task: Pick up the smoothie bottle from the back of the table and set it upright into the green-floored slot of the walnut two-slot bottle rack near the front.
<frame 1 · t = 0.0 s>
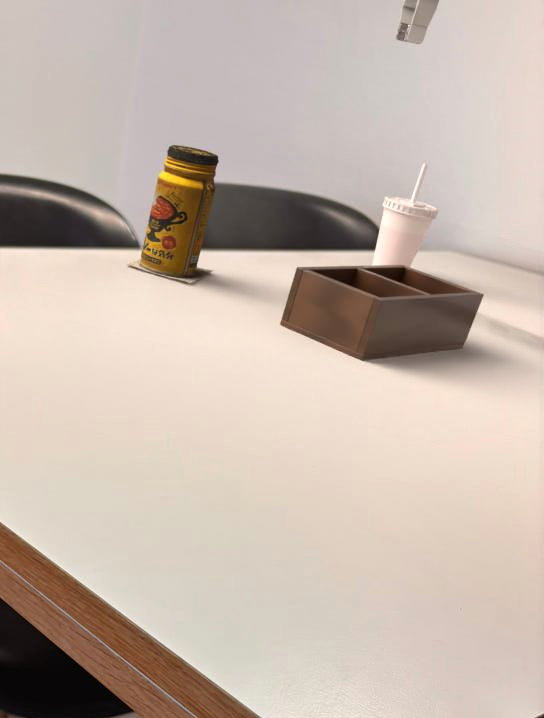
hand: (407, 42, 125), 25 cm above the table, tool pointing down, fingers open, 8 cm apart
condiment: (169, 271, 115), on the table
rack: (374, 336, 106), on the table
smoothie: (382, 288, 129), on the table
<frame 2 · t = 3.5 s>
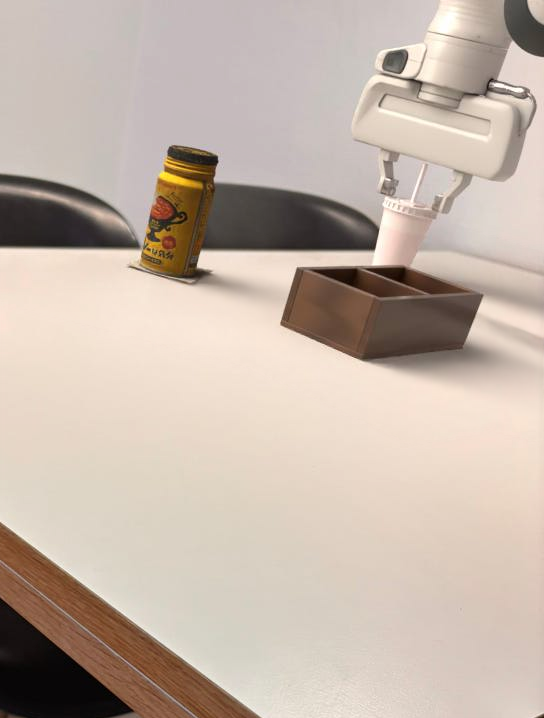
hand: (411, 203, 124), 10 cm above the table, tool pointing down, fingers closed on smoothie, 6 cm apart
smoothie: (382, 288, 129), on the table, touching gripper
everything else where it was.
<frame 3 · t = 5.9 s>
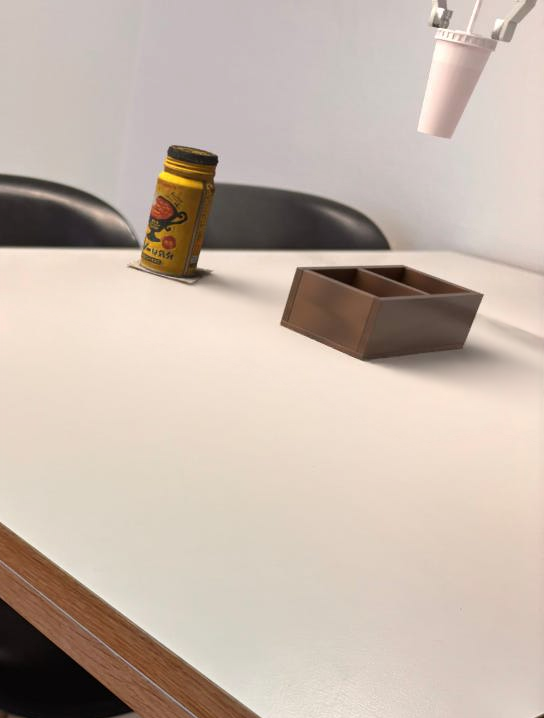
hand: (467, 34, 111), 27 cm above the table, tool pointing down, fingers closed on smoothie, 6 cm apart
smoothie: (433, 136, 116), point 17 cm above the table, touching gripper
everything else where it was.
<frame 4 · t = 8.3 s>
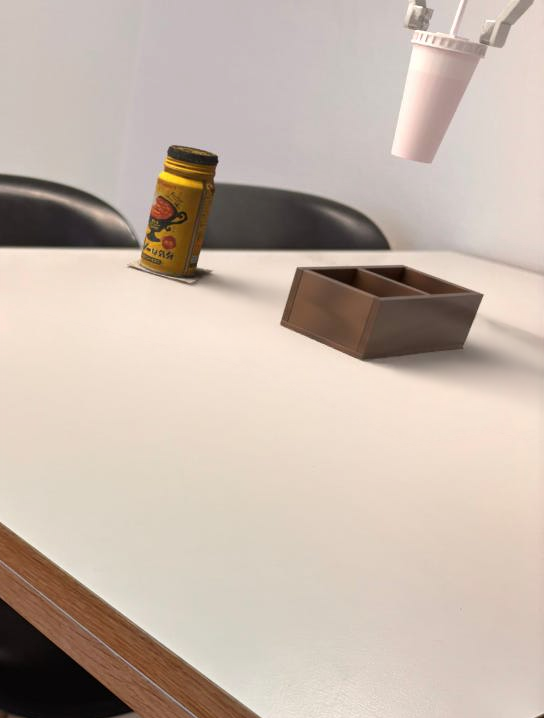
hand: (451, 37, 91), 26 cm above the table, tool pointing down, fingers closed on smoothie, 6 cm apart
smoothie: (410, 160, 97), point 16 cm above the table, touching gripper
everything else where it was.
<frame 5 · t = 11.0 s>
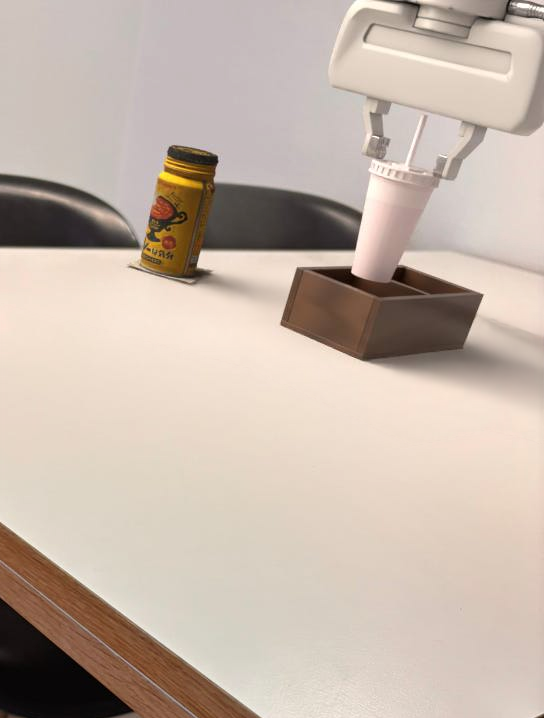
hand: (406, 167, 95), 16 cm above the table, tool pointing down, fingers closed on smoothie, 6 cm apart
smoothie: (369, 278, 101), point 6 cm above the table, touching gripper
everything else where it was.
when the fingers open (10 cm above the table, at t = 13.1 s): smoothie stays where it is, resting on rack.
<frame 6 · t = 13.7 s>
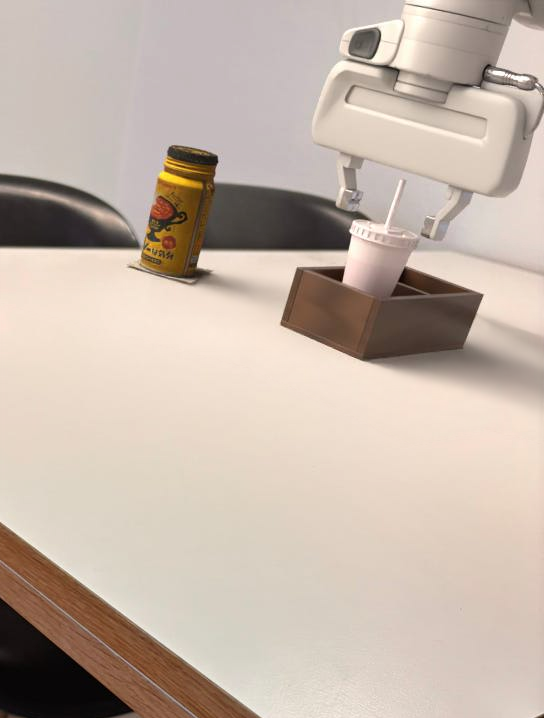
hand: (387, 223, 98), 11 cm above the table, tool pointing down, fingers open, 8 cm apart
smoothie: (351, 334, 103), point 1 cm above the table, touching rack
everything else where it was.
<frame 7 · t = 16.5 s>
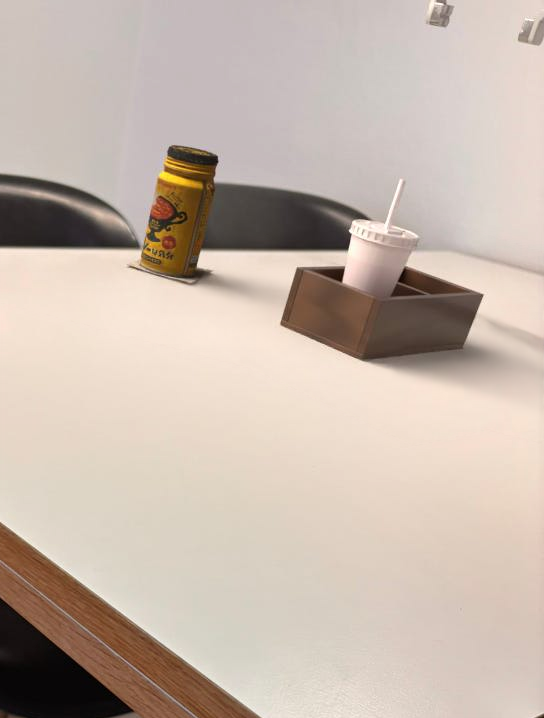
hand: (480, 34, 96), 27 cm above the table, tool pointing down, fingers open, 8 cm apart
nothing on the table moved.
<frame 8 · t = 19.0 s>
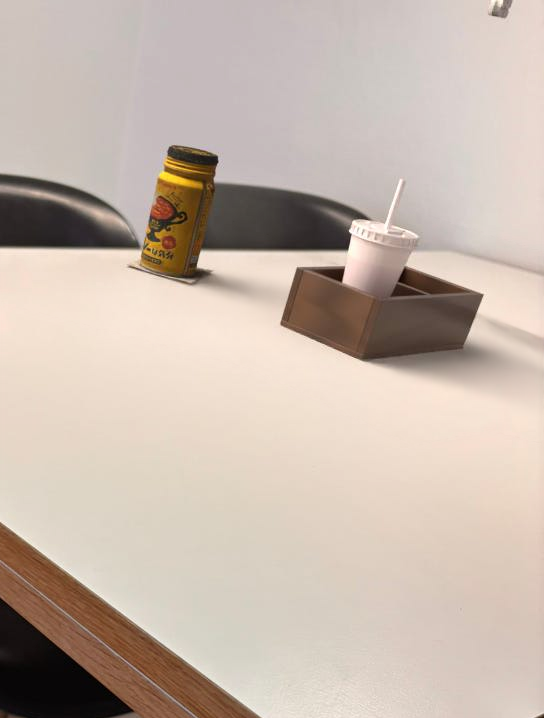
hand: (536, 24, 112), 29 cm above the table, tool pointing down, fingers open, 8 cm apart
nothing on the table moved.
at the end: smoothie 0.1 cm from the target spot in the rack, point 0.5 cm above the rack's base; smoothie tilted 0°; the gripper is holding nothing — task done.
